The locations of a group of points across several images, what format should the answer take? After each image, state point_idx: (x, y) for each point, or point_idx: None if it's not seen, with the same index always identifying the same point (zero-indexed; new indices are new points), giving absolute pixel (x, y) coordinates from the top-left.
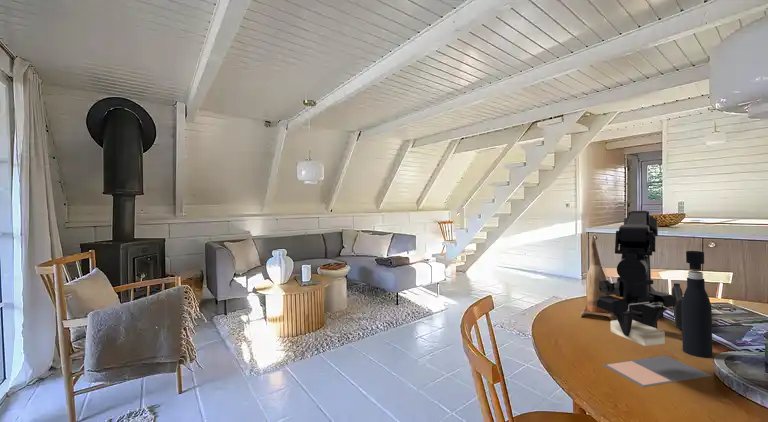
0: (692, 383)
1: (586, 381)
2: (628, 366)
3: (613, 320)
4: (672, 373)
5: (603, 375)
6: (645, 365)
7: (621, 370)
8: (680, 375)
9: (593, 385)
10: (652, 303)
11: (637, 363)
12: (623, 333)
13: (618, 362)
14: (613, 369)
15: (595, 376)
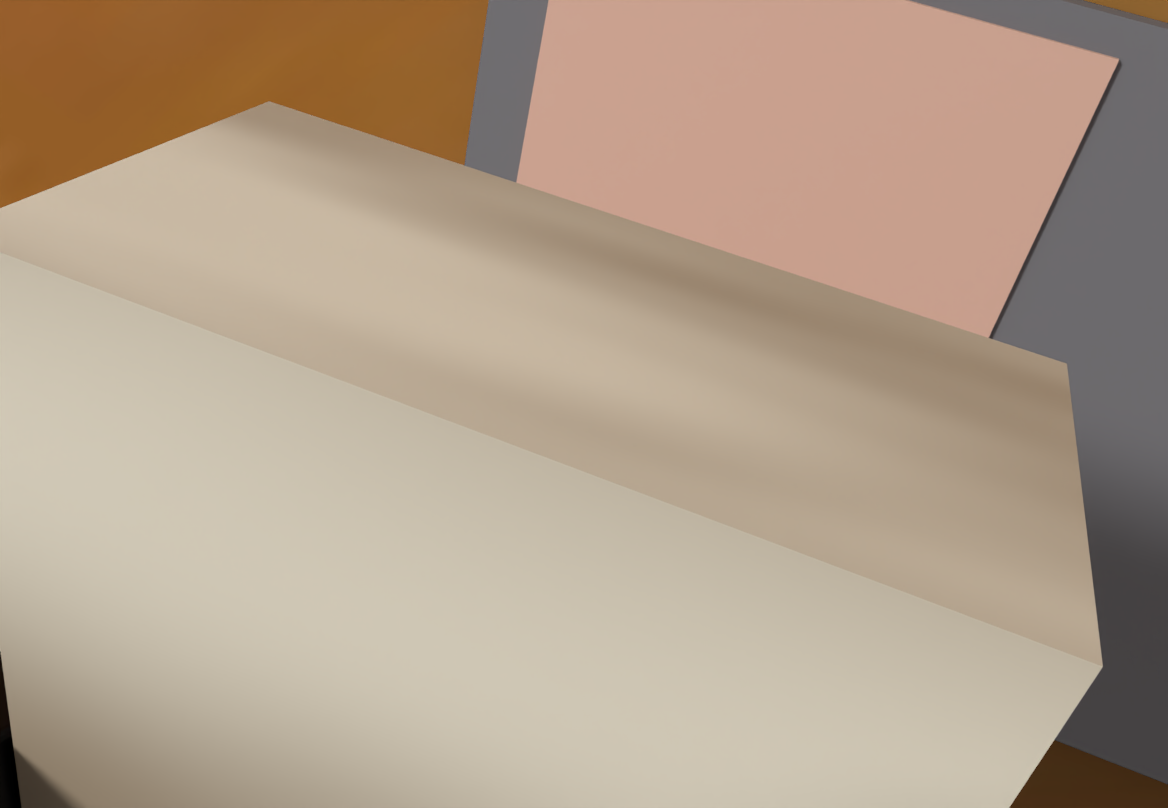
0: (1074, 756)
1: (20, 31)
2: (810, 154)
3: (92, 298)
4: (1124, 606)
5: (315, 49)
6: (1122, 285)
7: (579, 163)
8: (1141, 678)
9: (36, 135)
10: None
11: (1103, 169)
12: None
13: None
14: (519, 68)
15: (200, 8)
